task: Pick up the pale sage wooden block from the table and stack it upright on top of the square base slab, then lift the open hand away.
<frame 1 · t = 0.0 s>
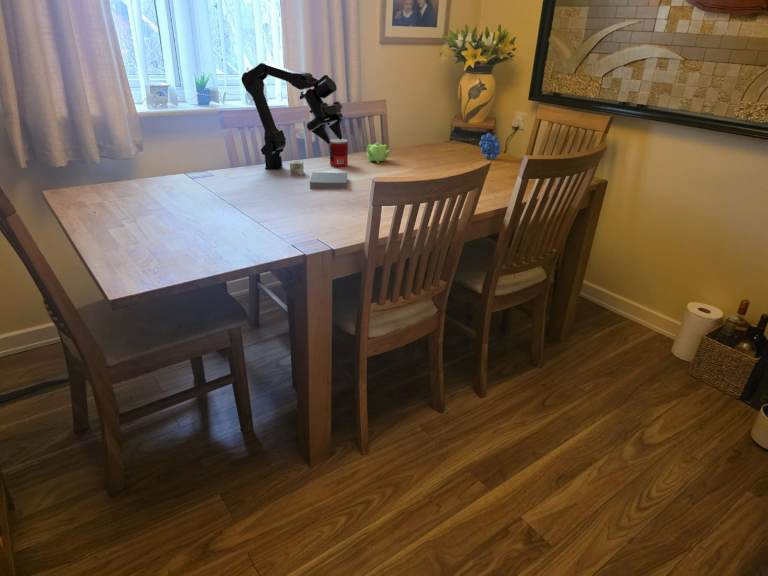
hand: (335, 141, 202), 15 cm above the table, tool tilted 35°, fingers open, 9 cm apart
base slab: (329, 183, 201), on the table
green rounded lump: (378, 162, 235), on the table
grapes: (487, 159, 246), on the table
sage block: (297, 173, 213), on the table
canned food: (338, 165, 227), on the table
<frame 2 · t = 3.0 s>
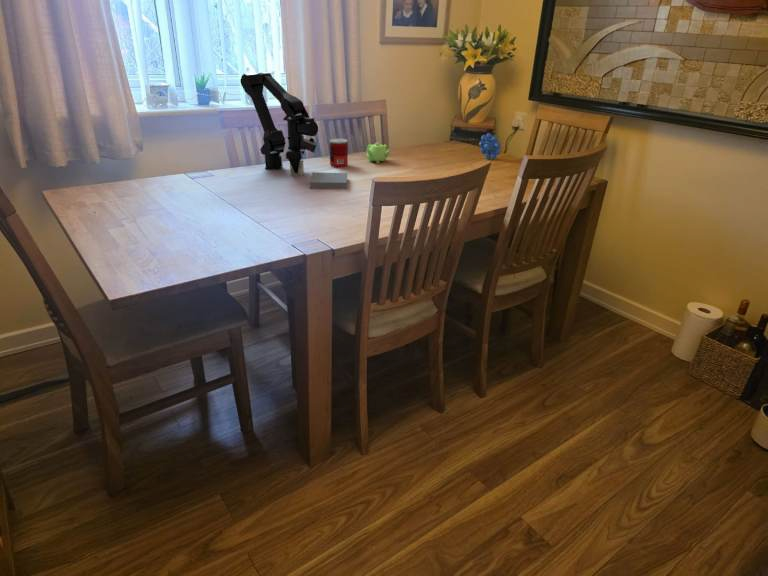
hand: (297, 171, 212), 1 cm above the table, tool pointing down, fingers closed on sage block, 5 cm apart
sage block: (297, 173, 213), on the table, touching gripper
everything else where it was.
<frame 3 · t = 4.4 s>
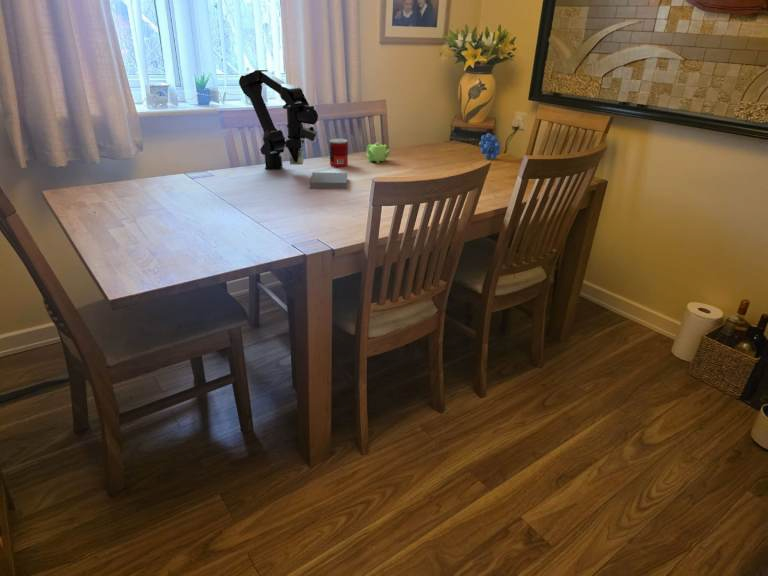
hand: (296, 160, 210), 6 cm above the table, tool pointing down, fingers closed on sage block, 5 cm apart
sage block: (296, 163, 211), point 4 cm above the table, touching gripper
everything else where it was.
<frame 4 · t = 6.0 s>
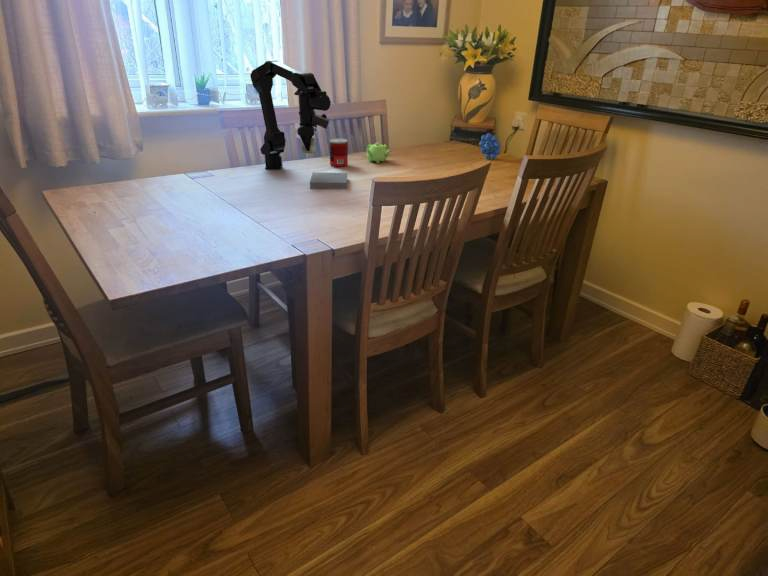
hand: (308, 149, 203), 11 cm above the table, tool pointing down, fingers closed on sage block, 5 cm apart
sage block: (308, 151, 203), point 10 cm above the table, touching gripper
everything else where it was.
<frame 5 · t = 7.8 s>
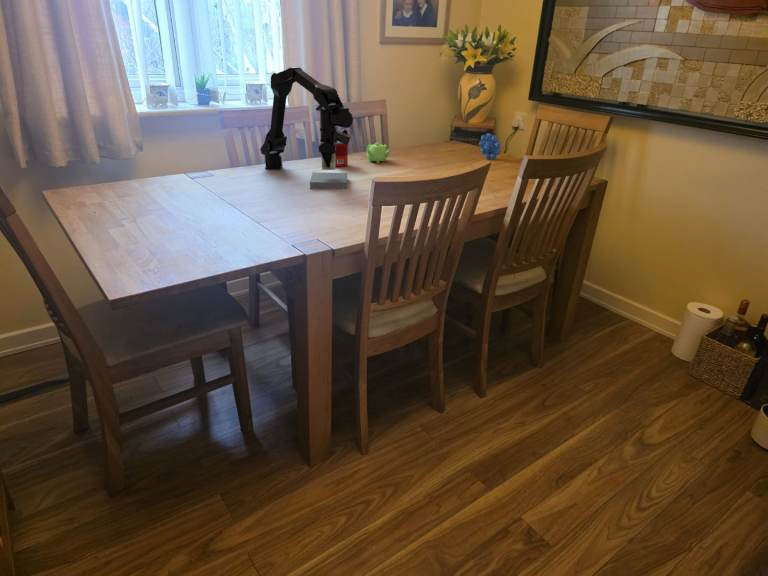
hand: (328, 165, 198), 7 cm above the table, tool pointing down, fingers closed on sage block, 5 cm apart
sage block: (328, 168, 199), point 6 cm above the table, touching gripper
everything else where it was.
when the fingers open (5 cm above the table, at t = 9.1 s): sage block drops 1 cm, resting on base slab.
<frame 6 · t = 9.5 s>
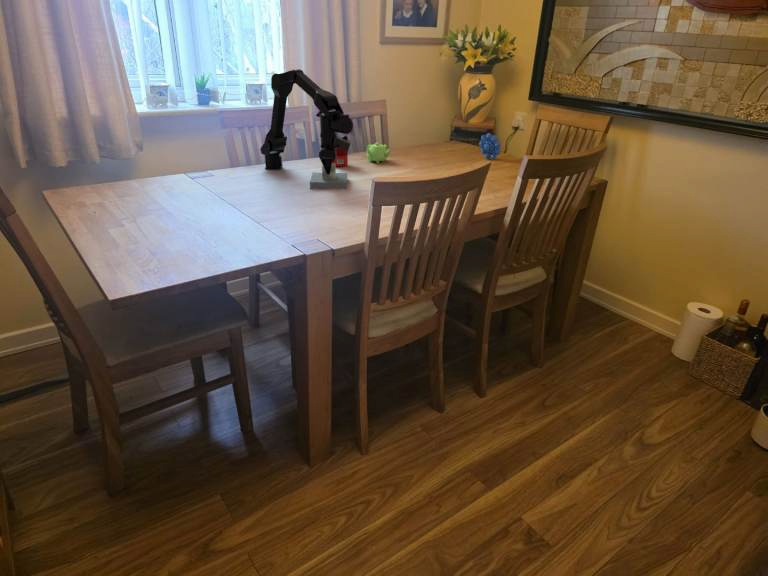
hand: (328, 171, 199), 5 cm above the table, tool pointing down, fingers open, 9 cm apart
sage block: (329, 177, 200), point 2 cm above the table, touching base slab
everything else where it was.
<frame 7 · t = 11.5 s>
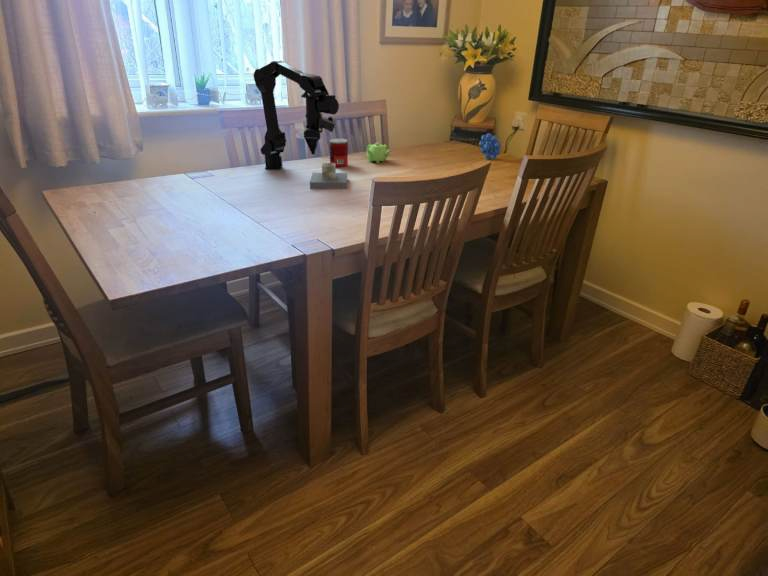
hand: (314, 151, 204), 10 cm above the table, tool pointing down, fingers open, 9 cm apart
nothing on the table moved.
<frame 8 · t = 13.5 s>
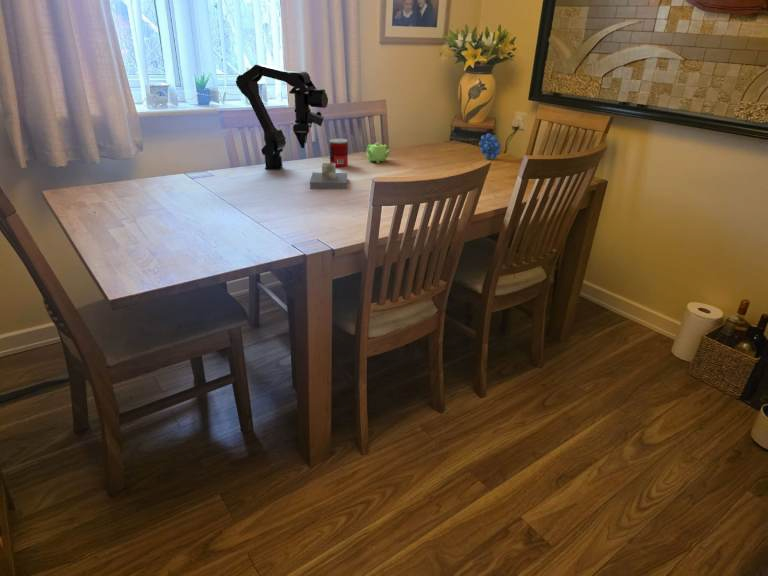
hand: (303, 145, 211), 11 cm above the table, tool pointing down, fingers open, 9 cm apart
nothing on the table moved.
at the end: sage block inside the target area on the base slab (0.0 cm from its centre), point 2.5 cm above the base slab's base; sage block tilted 0°; the gripper is holding nothing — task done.
